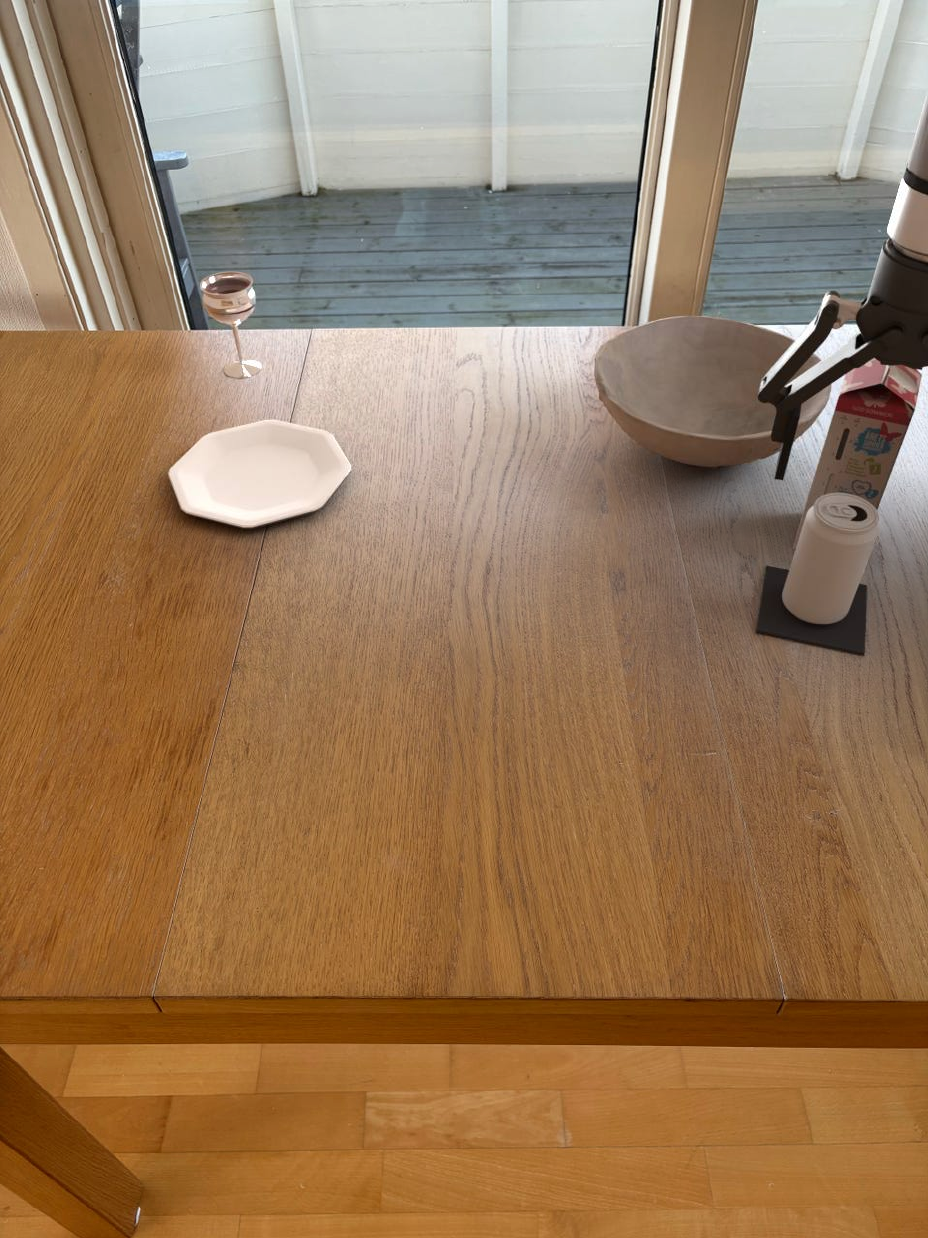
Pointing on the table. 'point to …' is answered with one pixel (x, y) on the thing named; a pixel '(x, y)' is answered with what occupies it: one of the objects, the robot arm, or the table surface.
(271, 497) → the plate
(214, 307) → the wineglass
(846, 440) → the juice carton
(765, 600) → the coaster
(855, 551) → the beverage can
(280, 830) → the table surface
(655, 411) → the bowl
